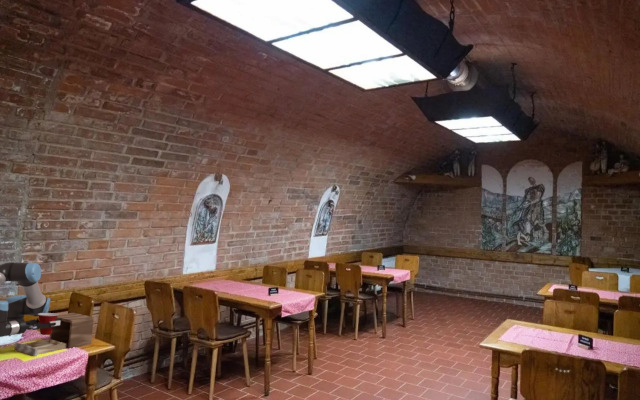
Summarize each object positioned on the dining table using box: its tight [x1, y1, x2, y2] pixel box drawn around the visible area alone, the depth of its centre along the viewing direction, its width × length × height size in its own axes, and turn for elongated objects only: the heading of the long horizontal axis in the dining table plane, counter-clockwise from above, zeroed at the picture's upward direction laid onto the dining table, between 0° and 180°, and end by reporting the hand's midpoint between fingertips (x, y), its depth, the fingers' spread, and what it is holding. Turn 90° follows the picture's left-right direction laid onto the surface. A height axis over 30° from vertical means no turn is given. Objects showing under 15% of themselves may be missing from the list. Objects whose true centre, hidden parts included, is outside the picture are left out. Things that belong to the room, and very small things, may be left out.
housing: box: [49, 312, 94, 349], centre depth 285 cm, size 20×14×17 cm
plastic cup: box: [37, 312, 59, 336], centre depth 271 cm, size 11×11×12 cm
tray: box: [14, 338, 67, 357], centre depth 269 cm, size 20×20×4 cm
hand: (54, 321), depth 275 cm, fingers closed on plastic cup, 9 cm apart
